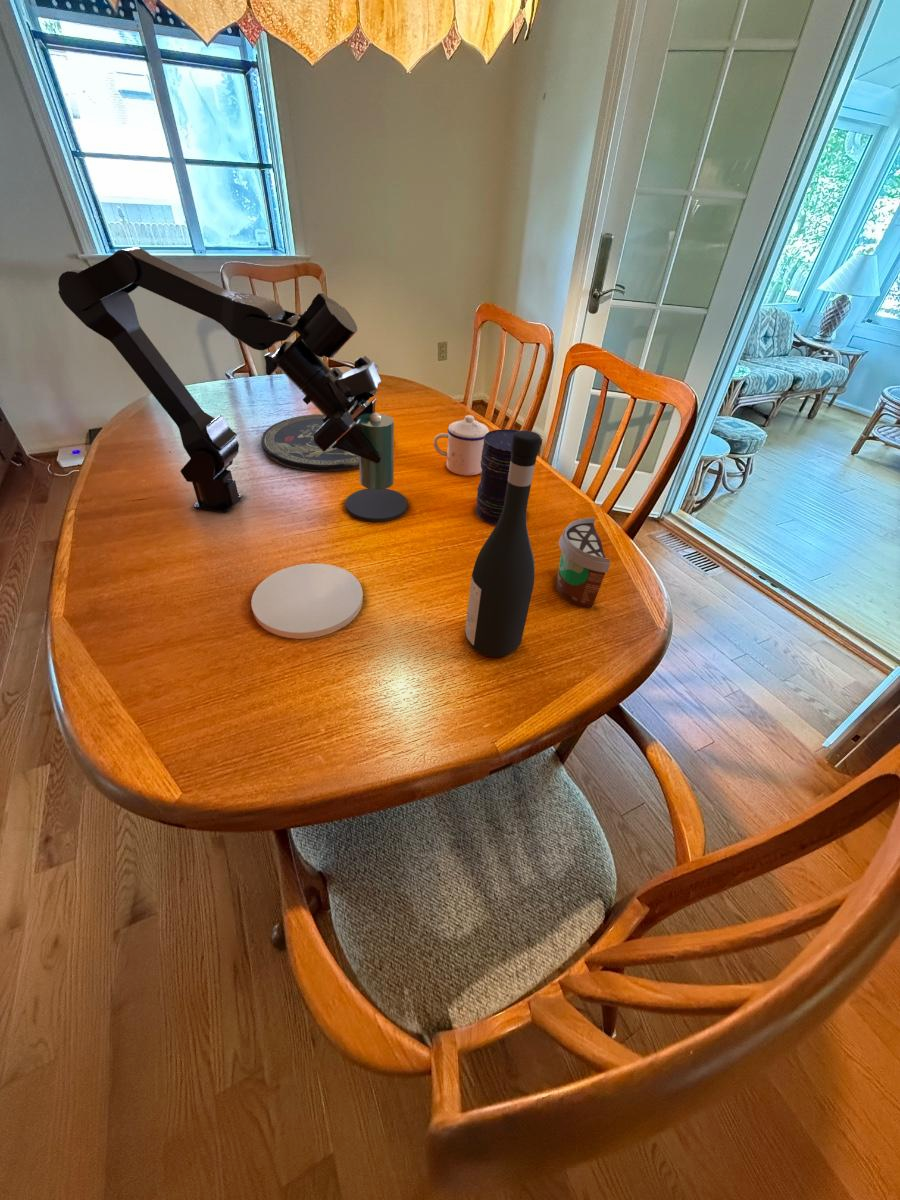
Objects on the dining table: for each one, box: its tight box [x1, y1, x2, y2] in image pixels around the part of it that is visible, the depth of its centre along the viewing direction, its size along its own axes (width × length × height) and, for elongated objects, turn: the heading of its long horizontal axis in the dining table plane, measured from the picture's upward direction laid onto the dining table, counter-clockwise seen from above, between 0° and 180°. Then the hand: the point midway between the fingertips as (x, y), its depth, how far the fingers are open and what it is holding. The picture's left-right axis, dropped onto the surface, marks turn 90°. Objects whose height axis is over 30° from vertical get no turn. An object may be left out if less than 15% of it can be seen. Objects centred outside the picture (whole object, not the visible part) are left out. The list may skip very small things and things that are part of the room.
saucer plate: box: [250, 562, 364, 640], centre depth 74 cm, size 16×16×1 cm
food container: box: [555, 517, 612, 609], centre depth 78 cm, size 12×6×10 cm, turn 178°
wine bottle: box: [464, 429, 542, 658], centre depth 61 cm, size 8×8×30 cm
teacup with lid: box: [433, 414, 490, 477], centre depth 109 cm, size 12×9×12 cm
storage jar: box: [475, 428, 518, 526], centre depth 93 cm, size 10×10×15 cm
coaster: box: [344, 488, 409, 523], centre depth 97 cm, size 12×12×1 cm
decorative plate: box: [260, 413, 359, 473], centre depth 117 cm, size 30×2×30 cm
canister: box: [357, 412, 395, 490], centre depth 84 cm, size 6×6×12 cm
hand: (383, 453), depth 84 cm, fingers closed on canister, 6 cm apart
